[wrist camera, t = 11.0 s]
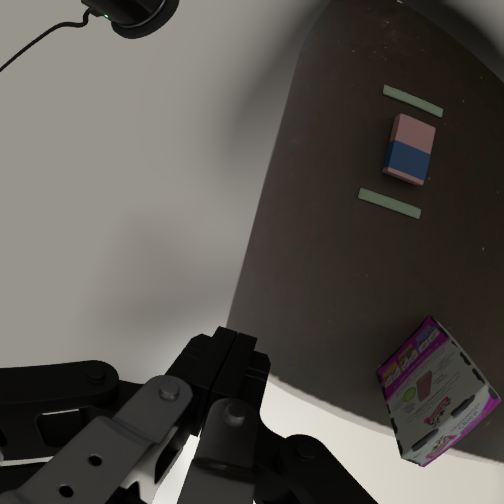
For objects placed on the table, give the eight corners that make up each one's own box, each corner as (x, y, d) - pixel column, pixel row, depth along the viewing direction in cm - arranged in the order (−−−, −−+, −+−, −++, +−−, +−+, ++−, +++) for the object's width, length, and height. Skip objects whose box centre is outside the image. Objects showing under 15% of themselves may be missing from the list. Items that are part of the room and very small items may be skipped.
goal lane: (357, 197, 32) (358, 197, 32) (384, 85, 29) (384, 84, 28) (417, 218, 31) (418, 219, 31) (441, 109, 28) (442, 109, 27)
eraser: (381, 171, 31) (387, 171, 29) (394, 117, 29) (400, 112, 27) (415, 185, 31) (423, 185, 28) (428, 131, 29) (436, 128, 26)
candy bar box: (396, 385, 37) (422, 469, 21) (374, 371, 37) (397, 459, 21) (450, 330, 33) (504, 401, 18) (430, 312, 33) (486, 384, 18)
